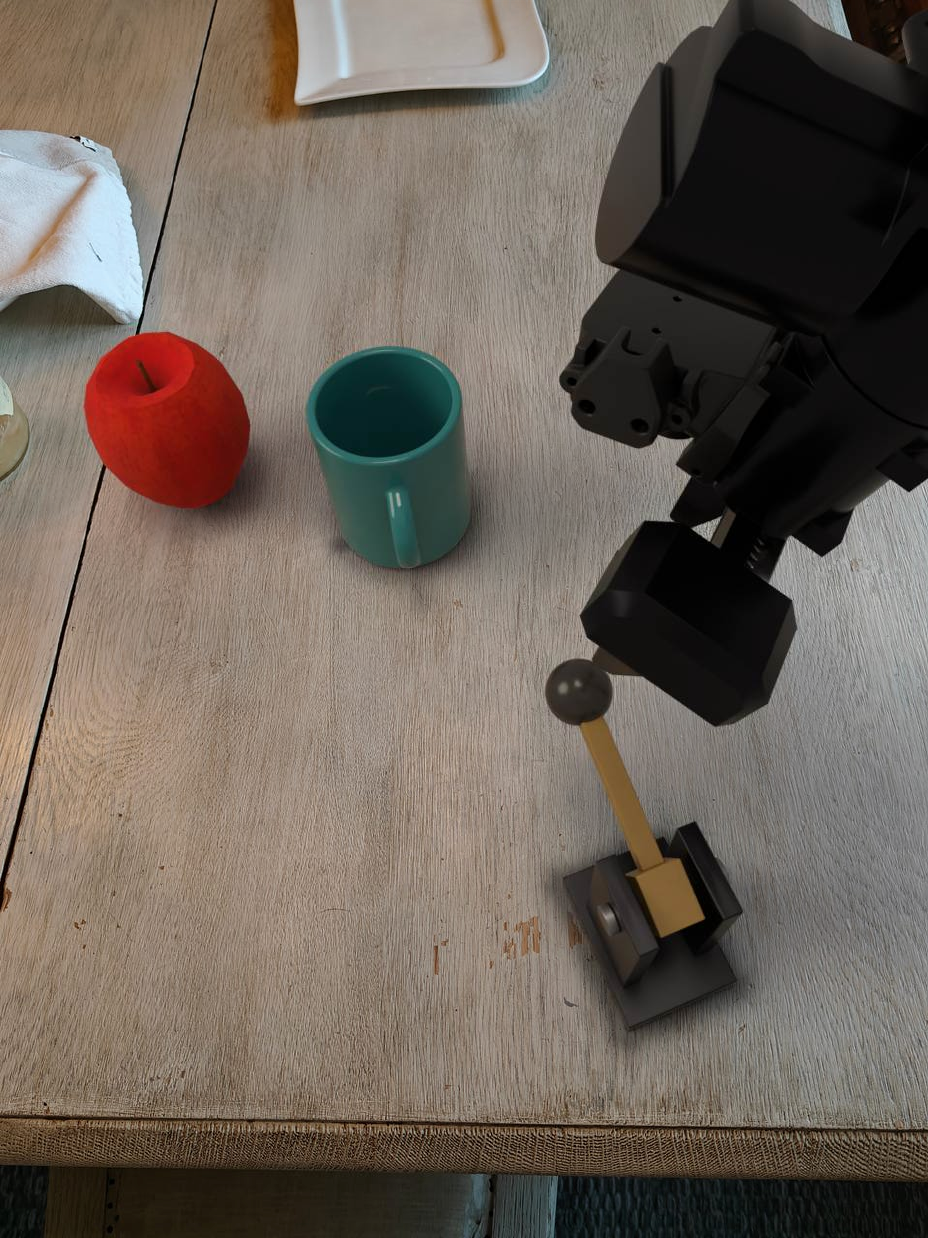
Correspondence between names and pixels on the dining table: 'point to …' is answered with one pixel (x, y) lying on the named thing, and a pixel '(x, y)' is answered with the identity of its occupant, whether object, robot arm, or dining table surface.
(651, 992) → the switch bracket
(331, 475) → the cup
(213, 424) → the apple
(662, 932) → the switch lever
